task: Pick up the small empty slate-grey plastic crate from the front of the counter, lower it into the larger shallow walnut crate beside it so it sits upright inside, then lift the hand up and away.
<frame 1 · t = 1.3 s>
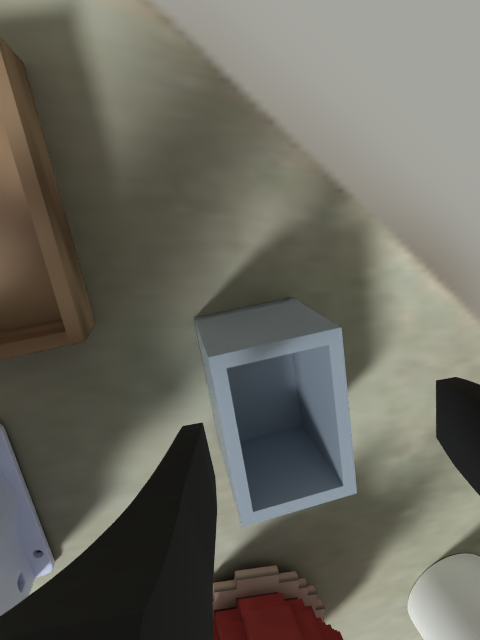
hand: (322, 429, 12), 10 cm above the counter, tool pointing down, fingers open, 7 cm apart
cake: (249, 613, 27), on the counter
grey crate: (255, 376, 22), on the counter
cylindrical container: (448, 590, 30), on the counter
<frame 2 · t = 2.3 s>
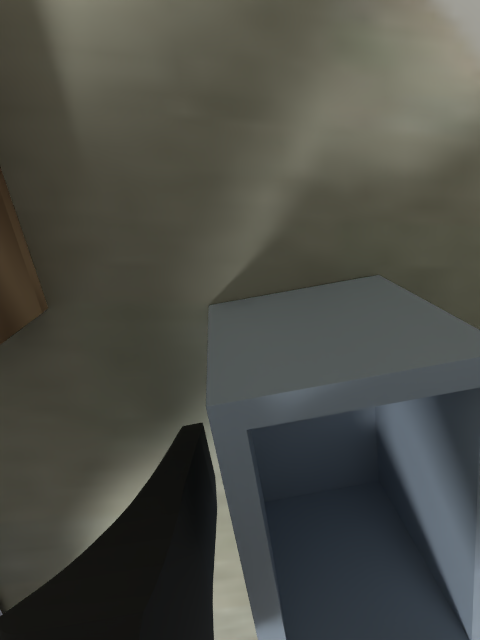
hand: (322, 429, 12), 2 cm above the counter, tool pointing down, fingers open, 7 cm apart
grey crate: (307, 400, 14), on the counter
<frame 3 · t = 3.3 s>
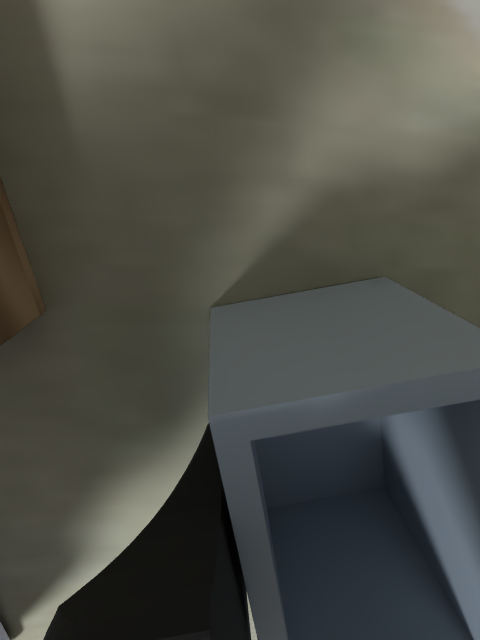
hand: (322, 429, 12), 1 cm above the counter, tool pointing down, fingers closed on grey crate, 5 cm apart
grey crate: (311, 405, 13), on the counter, touching gripper
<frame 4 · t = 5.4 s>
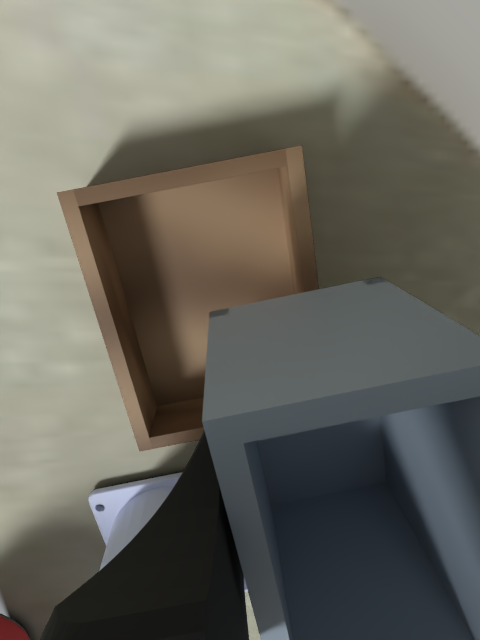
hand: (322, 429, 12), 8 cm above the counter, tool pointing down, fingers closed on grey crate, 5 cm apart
walnut crate: (211, 293, 20), on the counter
grey crate: (312, 404, 14), point 7 cm above the counter, touching gripper
when the fingers open (4 cm above the counter, at t = 7.4 s): grey crate drops 2 cm, resting on walnut crate.
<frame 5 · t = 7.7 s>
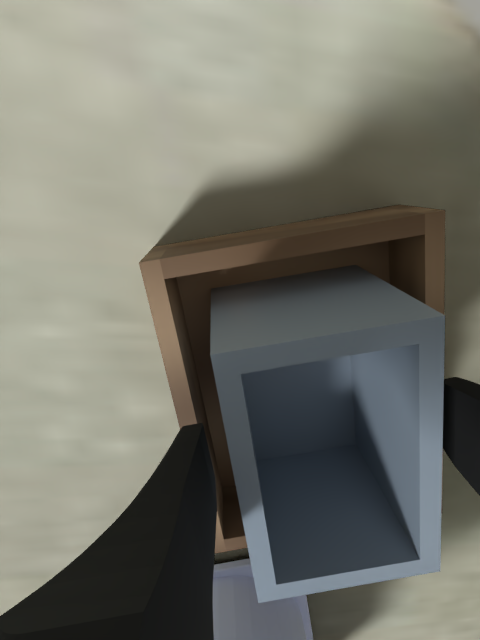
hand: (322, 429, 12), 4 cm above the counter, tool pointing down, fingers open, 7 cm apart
walnut crate: (292, 361, 17), on the counter, touching grey crate
grey crate: (294, 373, 16), resting on walnut crate
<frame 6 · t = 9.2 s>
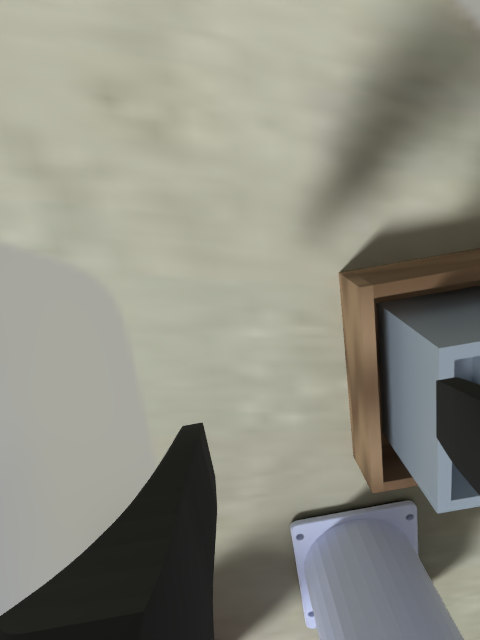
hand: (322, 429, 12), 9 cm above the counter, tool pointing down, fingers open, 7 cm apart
walnut crate: (422, 355, 23), on the counter, touching grey crate
grey crate: (428, 363, 22), resting on walnut crate
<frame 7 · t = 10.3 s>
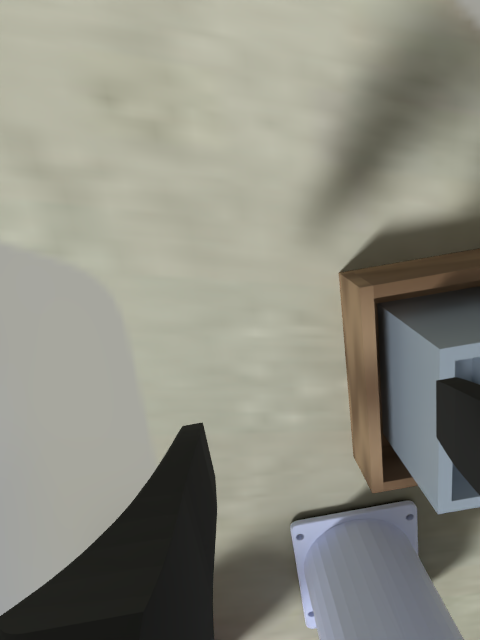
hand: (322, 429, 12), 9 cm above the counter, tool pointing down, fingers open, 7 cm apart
walnut crate: (422, 355, 23), on the counter, touching grey crate
grey crate: (428, 364, 22), resting on walnut crate
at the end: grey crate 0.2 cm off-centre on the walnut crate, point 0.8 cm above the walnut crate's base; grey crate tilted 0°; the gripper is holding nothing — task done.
